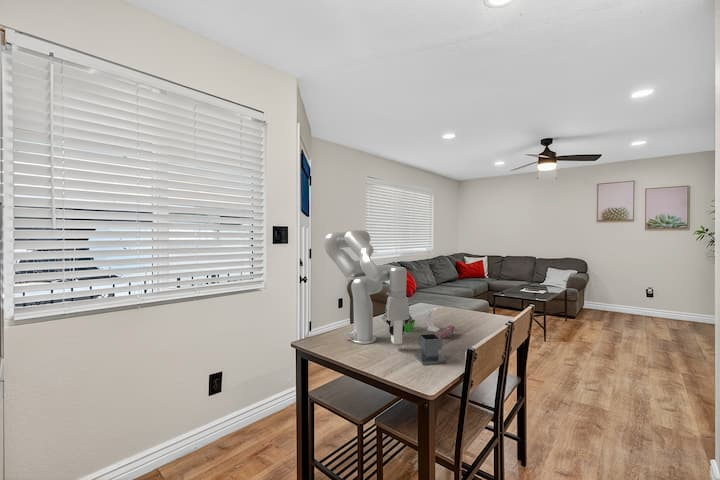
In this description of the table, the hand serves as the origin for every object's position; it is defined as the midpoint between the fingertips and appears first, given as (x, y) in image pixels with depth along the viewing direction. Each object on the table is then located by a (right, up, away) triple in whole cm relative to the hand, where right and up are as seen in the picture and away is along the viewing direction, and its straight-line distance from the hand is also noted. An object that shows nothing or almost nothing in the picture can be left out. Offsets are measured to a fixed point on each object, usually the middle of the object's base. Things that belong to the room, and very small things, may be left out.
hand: (396, 333), depth 142 cm
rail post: (0, -4, 0) cm, 4 cm away
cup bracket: (+13, -8, -11) cm, 18 cm away
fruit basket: (+8, -7, +30) cm, 32 cm away
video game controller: (+28, -7, +18) cm, 34 cm away
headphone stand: (+23, -7, +29) cm, 38 cm away
